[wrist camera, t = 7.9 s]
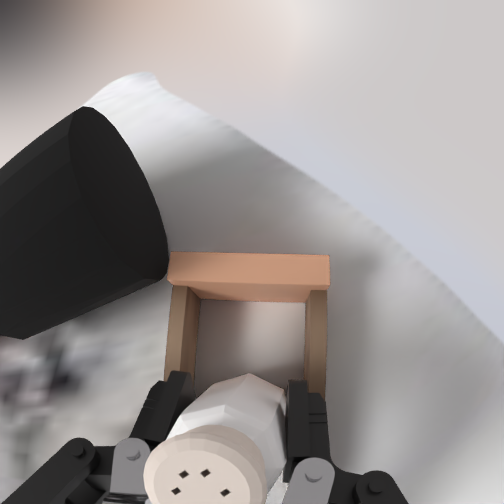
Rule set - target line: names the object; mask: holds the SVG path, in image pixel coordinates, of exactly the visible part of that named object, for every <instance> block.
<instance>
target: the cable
mask: <svg viewBox="0 0 504 504" xmlns="http://www.w3.org/2000/svg"><path fill="white" fill-rule="evenodd" d="M168 263H169V255H168V246H167V238H166V234H165V231H164V227H163V223H162V220H161V216H160V212H159V210H158V207H157V205H156V202H155V199H154V197H153V194H152V192H151V189H150V187H149V185H148V183H147V180H146V178H145V176H144V174H143V172H142V170H141V168H140V166H139V164H138V163H137V161H136V159H135V157H134V155H133V153H132V152H131V150H130V148H129V147H128V145H127V144H126V142H125V141H124V139H123V138H122V137H121V135H120V134H119V132H118V131H117V129H116V128H115V127H114V126H113V125H112V124H111V122H110V121H109V120H108V119H107V118H106V117H105V116H104V115H102V114H101V113H99V112H98V111H97V110H95V109H94V108H91V107H84V106H83V107H81V108H79V109H78V110H76V111H74V112H73V113H71V114H70V115H68V116H67V117H65V118H64V119H62V120H61V121H60V122H58V123H57V124H55V125H54V126H53V127H51V128H50V129H49V130H47V131H46V132H44V133H43V134H42V135H40V136H39V137H38V138H36V139H35V140H34V141H33V142H31V143H30V144H29V145H28V146H26V147H25V148H24V149H23V150H21V152H19V153H18V154H17V155H16V156H14V157H13V158H12V159H11V160H10V161H9V162H7V163H6V164H5V165H4V166H3V167H2V168H1V169H0V335H2V336H7V337H12V338H17V339H22V340H24V339H26V338H29V337H31V336H33V335H36V334H38V333H40V332H43V331H45V330H47V329H50V328H52V327H54V326H56V325H59V324H61V323H63V322H66V321H68V320H70V319H72V318H75V317H77V316H79V315H82V314H84V313H86V312H88V311H91V310H93V309H95V308H98V307H100V306H102V305H104V304H107V303H109V302H111V301H114V300H116V299H118V298H121V297H123V296H125V295H128V294H130V293H132V292H135V291H137V290H139V289H142V288H144V287H146V286H149V285H151V284H153V283H156V282H158V281H160V280H162V278H163V277H164V276H165V274H166V273H167V269H168Z"/></svg>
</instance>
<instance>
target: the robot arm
mask: <svg viewBox="0 0 504 504" xmlns="http://www.w3.org/2000/svg"><path fill="white" fill-rule="evenodd" d="M194 401H195V392H194V387H193V382H192V377H191V373H190V372H183V371H175V370H172V371H171V372H170V375H169V377H168V379H167V382H166V381H158V382H157V383H156V384H155V385H154V386H153V387H152V388H151V389H150V391H149V394H148V396H147V399H146V400H145V403H144V405H143V408H142V409H141V412H140V414H139V416H138V418H137V421H136V423H135V425H134V428H133V430H132V432H131V435H130V436H129V438H127V439H124V440H122V441H121V442H119V443H118V444H117V445H116V446H93V444H92V443H91V442H90V441H89V440H87V439H85V438H74V439H72V440H70V441H69V442H67V443H66V444H65V445H64V446H63V447H62V448H61V449H60V450H59V451H58V452H57V453H56V454H54V455H53V456H52V457H51V458H50V459H49V460H48V461H47V462H46V463H45V464H44V465H43V466H42V467H40V468H39V469H38V470H37V471H36V472H35V473H34V474H33V475H32V476H31V477H30V478H29V479H28V480H26V481H25V482H24V483H23V484H22V485H21V486H20V487H19V488H18V489H17V490H16V491H14V492H13V493H12V494H11V495H10V496H9V497H8V498H7V499H6V500H5V501H4V502H2V503H1V504H152V503H151V501H150V499H149V497H148V494H147V492H146V490H145V485H144V477H143V474H144V468H145V463H146V461H147V459H148V457H149V456H150V454H151V452H152V451H153V450H154V449H155V448H156V447H157V446H158V445H159V444H160V443H162V442H163V441H166V439H167V437H168V435H169V433H170V432H171V430H172V428H173V426H174V424H175V423H176V421H177V419H178V418H179V416H180V415H181V413H182V412H183V411H184V410H185V409H186V408H187V407H188V406H189V405H190V404H191V403H193V402H194ZM326 414H327V412H326V402H325V401H324V399H323V398H322V396H321V394H320V393H308V388H307V380H288V389H287V398H286V409H285V427H286V452H287V462H286V464H285V466H284V468H283V482H285V483H288V488H287V491H286V494H285V496H284V499H283V502H282V504H408V502H407V501H406V499H405V497H404V496H403V494H402V493H401V491H400V489H399V488H398V486H397V484H396V483H395V481H394V480H393V478H392V477H391V476H390V475H389V474H387V473H386V472H383V471H370V472H367V473H365V474H364V475H359V474H354V473H349V472H345V471H343V470H341V469H339V468H338V467H336V466H335V465H334V463H333V462H332V460H331V457H330V448H329V435H328V424H327V415H326Z"/></svg>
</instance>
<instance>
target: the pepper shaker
mask: <svg viewBox="0 0 504 504" xmlns="http://www.w3.org/2000/svg"><path fill="white" fill-rule="evenodd" d="M286 398H287V397H286V394H285V391H284V389H282V388H279V387H277V386H275V385H273V384H271V383H269V382H267V381H265V380H263V379H261V378H259V377H256V376H254V375H252V374H250V373H248V374H245V375H242V376H238V377H235V378H231V379H228V380H224V381H221V382H217V383H214V384H213V385H211V386H210V387H209V388H208V389H207V390H206V391H205V392H204V393H203V394H202V395H200V396H199V397H198V398H197V399H196V400H195V401H194V402H193V403H191V404H190V405H189V406H188V407H187V408H186V409H185V410H184V411H183V412H182V413H181V415H180V416H179V418H178V419H177V421H176V423H175V424H174V426H173V428H172V430H171V432H170V433H169V435H168V437H167V439H166V441H163V442H162V443H160V444H159V445H158V446H157V447H156V448H155V449H154V450H153V451H152V452H151V454H150V456H149V457H148V459H147V461H146V463H145V468H144V474H143V477H144V485H145V490H146V492H147V494H148V497H149V499H150V501H151V503H152V504H265V502H266V499H267V494H268V492H269V491H270V489H271V488H272V486H273V485H274V483H275V482H276V480H277V479H278V477H279V475H280V474H281V472H282V470H283V468H284V466H285V464H286V462H287V452H286V427H285V409H286Z"/></svg>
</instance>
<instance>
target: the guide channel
mask: <svg viewBox="0 0 504 504" xmlns="http://www.w3.org/2000/svg"><path fill="white" fill-rule="evenodd" d="M167 280H168V281H169V282H170V283H171V284H172V285H173V289H172V298H171V306H170V315H169V325H168V335H167V346H166V357H165V370H164V381H166V382H167V379H168V377H169V375H170V372H171V371H172V370H175V371H183V372H190V373H191V377H192V382H193V387H194V374H195V360H196V347H197V334H198V322H199V311H200V301H201V299H213V300H235V301H261V302H302V303H306V311H305V354H304V380H307V388H308V393H320V394H321V396H322V398H323V399H324V401H325V385H326V355H327V289H328V288H329V286H330V263H329V255H304V254H260V253H216V252H174V251H171V254H170V261H169V268H168V275H167Z"/></svg>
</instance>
